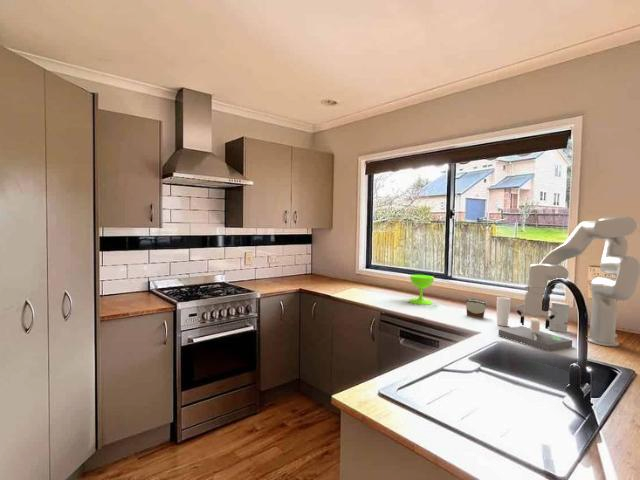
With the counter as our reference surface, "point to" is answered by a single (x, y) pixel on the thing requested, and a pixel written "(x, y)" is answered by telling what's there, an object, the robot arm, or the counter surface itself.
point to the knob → (534, 327)
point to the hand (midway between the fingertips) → (534, 326)
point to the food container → (475, 307)
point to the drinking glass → (503, 310)
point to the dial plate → (542, 341)
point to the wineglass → (421, 287)
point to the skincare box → (559, 316)
